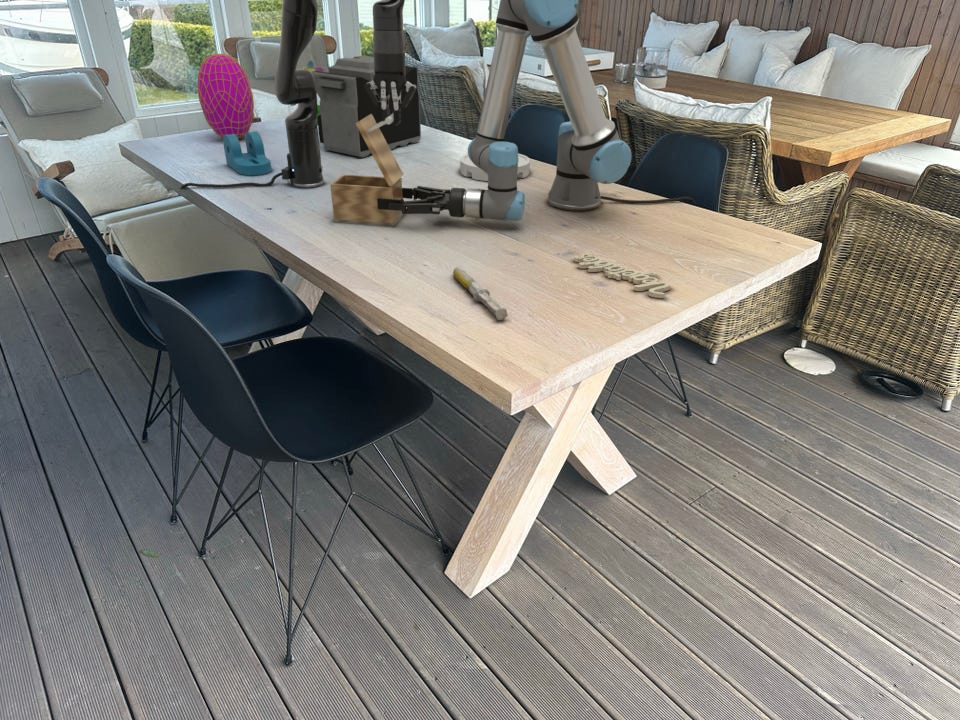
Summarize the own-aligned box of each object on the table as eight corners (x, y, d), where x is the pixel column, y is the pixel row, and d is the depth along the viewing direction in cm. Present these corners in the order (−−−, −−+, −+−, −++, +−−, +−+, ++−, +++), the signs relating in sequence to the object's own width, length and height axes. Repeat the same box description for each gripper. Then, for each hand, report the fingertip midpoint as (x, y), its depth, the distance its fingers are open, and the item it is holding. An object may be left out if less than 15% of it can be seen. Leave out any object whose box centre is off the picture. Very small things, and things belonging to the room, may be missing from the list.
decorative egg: (223, 147, 254) (207, 59, 238) (197, 138, 265) (180, 54, 250) (268, 138, 266) (256, 54, 251) (241, 130, 277) (228, 49, 262)
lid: (355, 123, 170) (382, 109, 167) (367, 115, 178) (393, 102, 175) (389, 186, 177) (416, 173, 174) (399, 176, 185) (425, 164, 182)
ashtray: (462, 161, 239) (462, 150, 237) (528, 163, 239) (529, 151, 237) (458, 180, 219) (458, 168, 217) (530, 182, 219) (531, 169, 217)
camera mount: (227, 164, 233) (221, 132, 227) (257, 160, 238) (252, 129, 233) (244, 176, 220) (239, 143, 215) (276, 172, 225) (271, 139, 220)
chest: (333, 222, 185) (330, 184, 179) (346, 210, 193) (342, 174, 188) (393, 226, 182) (391, 188, 177) (403, 214, 190) (401, 178, 185)
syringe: (449, 274, 155) (449, 263, 153) (465, 272, 156) (464, 260, 154) (490, 323, 135) (491, 310, 133) (508, 319, 136) (508, 307, 134)
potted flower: (308, 125, 287) (301, 61, 274) (303, 122, 293) (296, 58, 280) (330, 123, 291) (324, 59, 278) (325, 120, 297) (319, 57, 284)
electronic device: (383, 133, 276) (378, 52, 261) (425, 141, 265) (422, 56, 250) (314, 150, 251) (304, 61, 235) (358, 160, 240) (350, 67, 224)
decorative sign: (686, 282, 150) (660, 295, 144) (686, 286, 150) (659, 300, 144) (592, 249, 166) (565, 259, 160) (592, 253, 167) (565, 263, 161)
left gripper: (356, 50, 162) (361, 126, 171) (412, 53, 161) (414, 129, 169) (366, 47, 169) (370, 120, 178) (420, 49, 167) (422, 123, 176)
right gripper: (457, 231, 173) (371, 225, 176) (473, 204, 192) (396, 199, 195) (456, 201, 169) (369, 196, 172) (473, 177, 188) (394, 172, 191)
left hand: (392, 124), depth 174 cm, fingers closed on lid
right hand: (383, 197), depth 184 cm, fingers closed on chest, 10 cm apart
